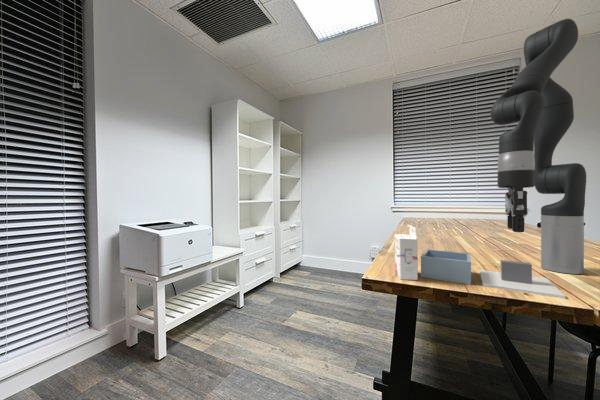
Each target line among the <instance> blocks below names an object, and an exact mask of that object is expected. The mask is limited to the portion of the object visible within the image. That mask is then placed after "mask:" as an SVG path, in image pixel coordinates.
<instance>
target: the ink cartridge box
mask: <svg viewBox="0 0 600 400" xmlns="http://www.w3.org/2000/svg"><path fill="white" fill-rule="evenodd" d="M417 234H418V233H417V228H416V227H414V226H412V225H411V224H409V234H399V233H398V234H394V270H395V272H396V274H397V277H398V278H399V280H404V281H405V280H406V281H407V280H408V281H418V279H419V276H418V275H419V272H418V271H419V270H418V269H419V268H418V266H419V265H418V264H419V263H418V256H419V255H418V235H417Z"/></svg>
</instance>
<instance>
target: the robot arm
mask: <svg viewBox="0 0 600 400" xmlns="http://www.w3.org/2000/svg"><path fill="white" fill-rule="evenodd" d="M578 39H579V28H578V26H577V23H576V22H575V20H573V19H572V18H565V19H561V20H558V21H556V22H554V23H552V24H550V25H548V26H546V27H544V28H542V29H540V30H538V31H536V32H533V33H532V34H529V36H527V37H526V38H525V40H524V44H523V54H524V62H525V63H524V64H525V66H524V68H522V69H521V71H519V73H518V74H517V76H516V78H515V80H514V81H513V83H512V85H511V86H510V87H509V88H508V89H507V90H505V92H504V93H502V94H501V95H500V96H499V97H498V98H497V99H496V101H494V103H493V105H492V107H491V110H490V118H491V121H492V122H493V123H494V124H496V125H498V126H499V125H500V126H505V125H511V124H514V123H517V125H516V126H515V127H514V128H512V129H510V130H507V131H506V132H503V133H502V134H500V135H499V138H498V159H497V188H499V189H507V190H508V191H506V193H505V195H504V201H505V204H504V207H505V211H504V212H505V213H506V217H507V226H506V227H507V228H508V229H509V230H512V232H514V233H524V232H525V218H526V216H527V215H528V190H524V188H525V189H527V188H528V189H529V188H534V187H535V190H536V192H538V193H539V194H543V195H557V194H558V195H561V194H562V195H563V194H564V195H563V197H562V198H561V199H560V200H558V201H556V202H554V203H551V204H550V203H549V204H546V205H542V206H541V208H540V267H541V268H542V269H544V270H546V271H547V270H548V271H551V272H554V273H555V272H557V273H563V274H570V275H571V274H572V275H583V274H584V273H585V243H584V242H585V217H584V216H585V207H586V206H585V203H586V189H587V171H586V168H585V167H584V165H583V164H581V163H576V162H575V163H563V164H561V163H560V164H553V156H554V152H555V149H556V148H557V146H558V144H559V143H560V141H561V140H562V139H563V137H564V135H566V133H567V132H568V131H569V129H570V127H571V125H572V123H573V122H574V119H575V118H574V117H575V113H574V101H573V99H574V98H573V97H572V94H571V93H570V92H569V91H568V90H567V89H565V88H564V87H563V86H561V85H560V84H559V83H557V82H556V81H554V80H553V79H552V78H551V75H552V74H553V72H554V71H556V69H557V67H559V65H560V64H561V63H562V62H563V61H564V60H565V59H566V57H567V56H568V55H569V53H571V51H572V50H574V48H575V46H576V44H577V42H578Z"/></svg>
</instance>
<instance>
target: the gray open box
mask: <svg viewBox="0 0 600 400" xmlns="http://www.w3.org/2000/svg"><path fill="white" fill-rule="evenodd" d="M420 277H421V278H426V279H432V280H437V281H446V282H452V283H459V284H464V285H465V284H466V285H471V286H472V258H471V253H470V252H469V253H468V252H459V251H450V250H439V249H430V248H429V249H428V248H425V249H424V251H423V253H422V254H421V256H420Z"/></svg>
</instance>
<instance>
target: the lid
mask: <svg viewBox="0 0 600 400" xmlns="http://www.w3.org/2000/svg"><path fill="white" fill-rule="evenodd" d="M479 275H480V279H481V284H482V287H485V288H486V287H487V288H492V289H500V290H504V291H511V292H519V293H525V294H530V293H532V294H533V295H537V296H538V295H539V296H544V297H550V298H558V299H563V300H566V295H565V294H564V293H563V292H562V291H561V290H560V289H559V288H558V287H556V286H555V285H554V283H552V281H551V280H550V279H548V278H547V277H541V276H533V265H532V264H531V263H530V262H524V261H517V260H515V261H513V260H508V259H507V260H505V259H500V271H498V272H497V271H493V270H492V271H491V270H490V271H489V270H483V269H479ZM532 294H531V295H532Z"/></svg>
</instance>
